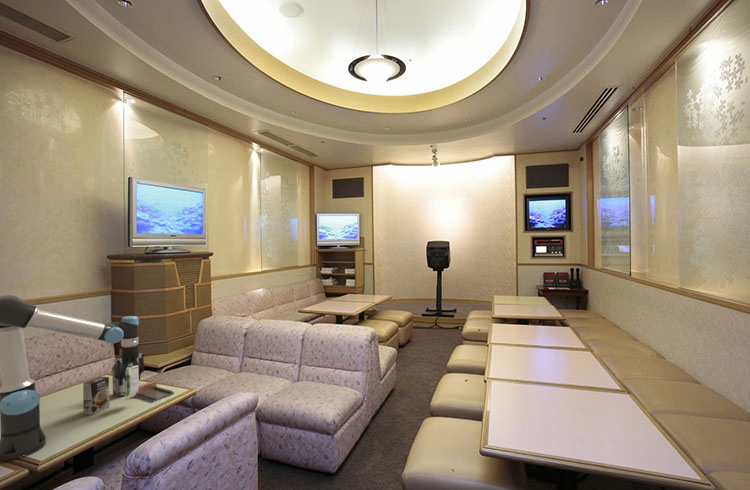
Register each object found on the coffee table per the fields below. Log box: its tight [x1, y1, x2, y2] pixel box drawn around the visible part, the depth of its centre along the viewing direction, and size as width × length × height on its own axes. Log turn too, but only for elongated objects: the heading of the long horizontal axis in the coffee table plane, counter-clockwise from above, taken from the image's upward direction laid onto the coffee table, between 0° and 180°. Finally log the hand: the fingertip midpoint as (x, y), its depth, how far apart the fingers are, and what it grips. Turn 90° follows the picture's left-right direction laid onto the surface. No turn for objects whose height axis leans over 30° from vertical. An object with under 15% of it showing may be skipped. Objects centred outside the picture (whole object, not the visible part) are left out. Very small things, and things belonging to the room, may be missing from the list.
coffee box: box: [82, 376, 110, 416], centre depth 182 cm, size 9×6×16 cm
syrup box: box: [121, 364, 139, 397], centre depth 186 cm, size 6×6×14 cm
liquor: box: [111, 341, 133, 398], centre depth 202 cm, size 9×9×30 cm
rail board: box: [133, 380, 175, 403], centre depth 199 cm, size 12×18×5 cm, turn 63°
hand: (129, 388), depth 186 cm, fingers closed on syrup box, 6 cm apart
